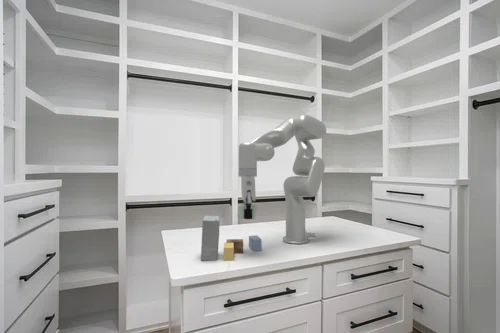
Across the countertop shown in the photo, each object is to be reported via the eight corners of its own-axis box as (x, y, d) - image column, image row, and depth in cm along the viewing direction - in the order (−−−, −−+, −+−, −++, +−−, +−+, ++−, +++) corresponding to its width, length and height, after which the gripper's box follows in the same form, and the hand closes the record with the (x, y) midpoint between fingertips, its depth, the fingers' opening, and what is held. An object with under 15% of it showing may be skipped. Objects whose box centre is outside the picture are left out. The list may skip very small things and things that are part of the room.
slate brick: (248, 246, 114) (248, 235, 114) (257, 246, 115) (257, 235, 115) (253, 251, 107) (252, 239, 108) (261, 251, 108) (261, 239, 108)
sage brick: (254, 217, 105) (255, 205, 105) (255, 219, 101) (256, 206, 101) (237, 216, 104) (238, 204, 104) (237, 218, 100) (239, 205, 100)
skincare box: (202, 254, 104) (202, 215, 104) (219, 253, 105) (220, 215, 105) (200, 261, 96) (200, 219, 96) (219, 260, 96) (219, 219, 96)
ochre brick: (224, 254, 103) (224, 242, 103) (233, 254, 104) (233, 242, 104) (223, 261, 96) (223, 247, 96) (233, 260, 97) (233, 247, 97)
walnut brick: (242, 250, 109) (242, 239, 109) (243, 253, 105) (243, 241, 105) (226, 251, 108) (226, 239, 108) (226, 254, 104) (226, 241, 105)
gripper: (259, 173, 95) (259, 221, 95) (254, 172, 112) (254, 214, 111) (239, 173, 94) (239, 222, 94) (237, 172, 111) (237, 214, 111)
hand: (247, 217), depth 103 cm, fingers closed on sage brick, 3 cm apart
